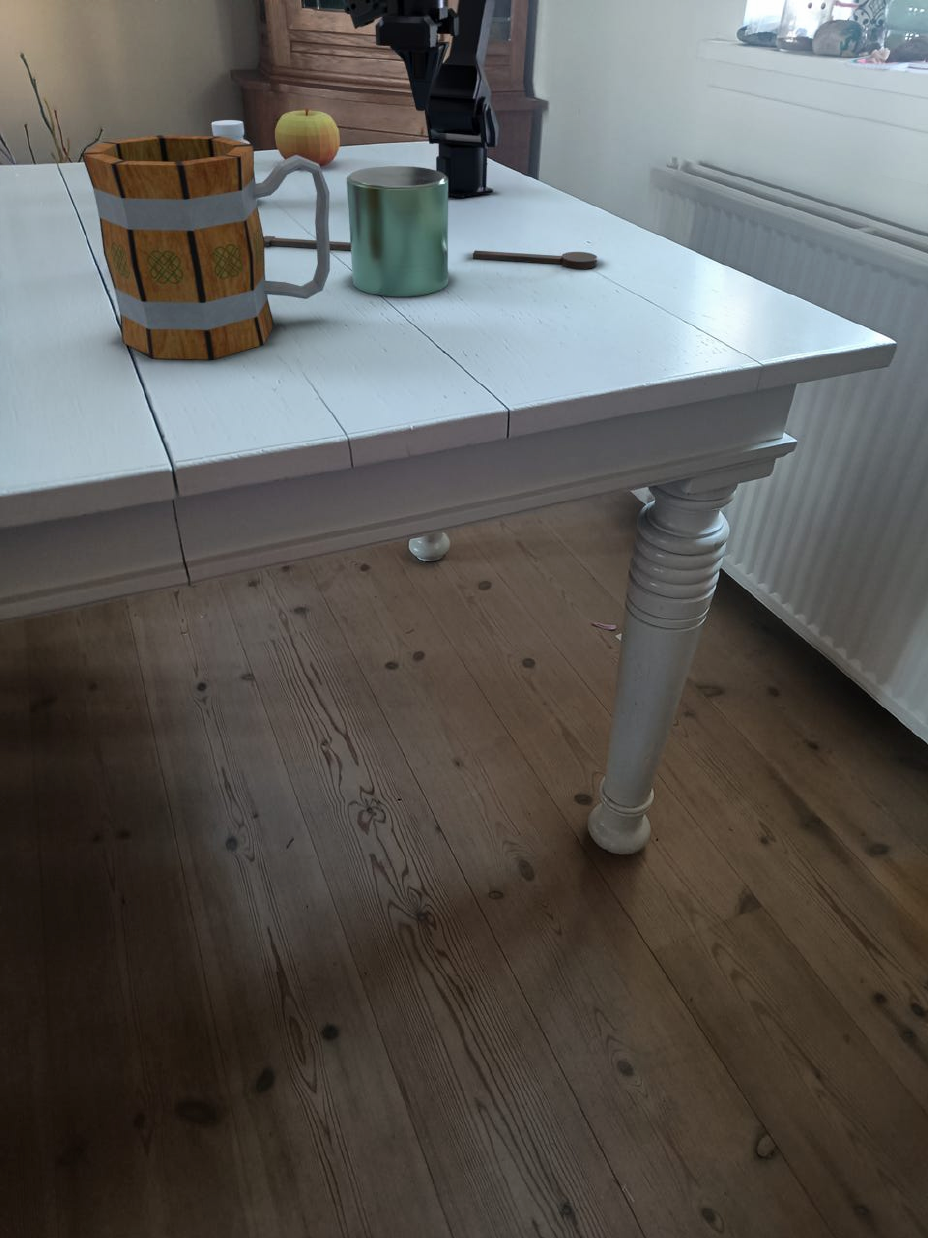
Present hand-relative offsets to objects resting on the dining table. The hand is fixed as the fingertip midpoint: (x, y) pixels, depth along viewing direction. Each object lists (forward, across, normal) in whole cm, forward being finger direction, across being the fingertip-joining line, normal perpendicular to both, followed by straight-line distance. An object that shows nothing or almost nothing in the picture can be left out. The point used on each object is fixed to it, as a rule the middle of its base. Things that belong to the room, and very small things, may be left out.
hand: (420, 110), depth 110 cm
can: (+12, +29, +4) cm, 31 cm away
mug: (+12, +46, -8) cm, 48 cm away
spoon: (+12, +18, +17) cm, 27 cm away
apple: (+12, -27, -24) cm, 38 cm away
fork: (+12, +18, -11) cm, 24 cm away
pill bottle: (+12, 0, -26) cm, 28 cm away
